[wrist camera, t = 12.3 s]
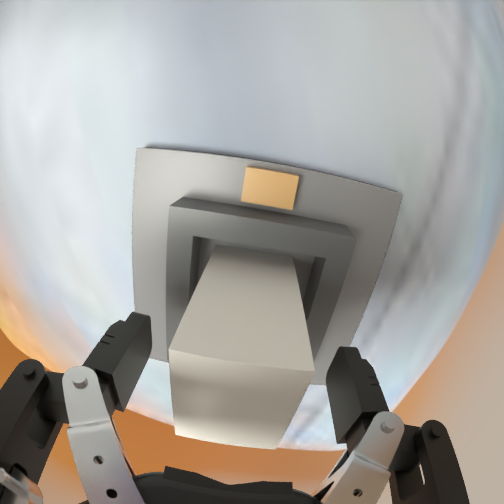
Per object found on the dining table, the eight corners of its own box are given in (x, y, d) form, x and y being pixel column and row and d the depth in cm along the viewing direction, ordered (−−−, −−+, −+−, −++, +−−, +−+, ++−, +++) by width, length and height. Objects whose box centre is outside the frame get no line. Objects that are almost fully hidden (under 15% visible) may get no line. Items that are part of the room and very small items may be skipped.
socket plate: (144, 346, 19) (130, 373, 16) (144, 147, 13) (117, 149, 11) (327, 375, 19) (333, 405, 16) (394, 191, 14) (420, 203, 11)
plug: (208, 321, 16) (175, 434, 9) (216, 244, 14) (168, 349, 7) (274, 332, 16) (275, 449, 9) (292, 257, 14) (315, 371, 7)
